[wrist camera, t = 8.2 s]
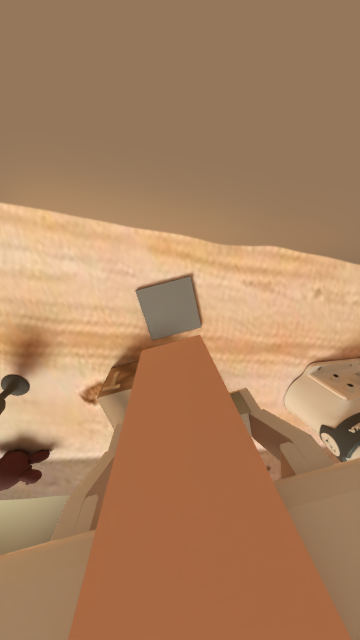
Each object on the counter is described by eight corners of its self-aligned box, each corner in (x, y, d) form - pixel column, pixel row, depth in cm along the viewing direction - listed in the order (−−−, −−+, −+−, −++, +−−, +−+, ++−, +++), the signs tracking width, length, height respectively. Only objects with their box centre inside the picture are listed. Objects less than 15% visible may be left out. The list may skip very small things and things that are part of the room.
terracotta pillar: (200, 334, 14) (367, 673, 2) (210, 382, 15) (339, 711, 4) (141, 350, 14) (35, 765, 2) (158, 396, 15) (144, 765, 4)
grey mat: (189, 276, 30) (190, 276, 29) (200, 326, 33) (201, 327, 33) (136, 290, 30) (135, 290, 29) (152, 338, 33) (152, 340, 33)
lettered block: (148, 357, 34) (144, 383, 27) (159, 388, 37) (158, 419, 30) (110, 367, 34) (96, 397, 27) (124, 397, 37) (115, 431, 30)
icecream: (-43, 504, 34) (42, 490, 37) (-67, 495, 30) (31, 480, 33) (-15, 461, 39) (56, 452, 43) (-32, 448, 35) (48, 440, 39)
